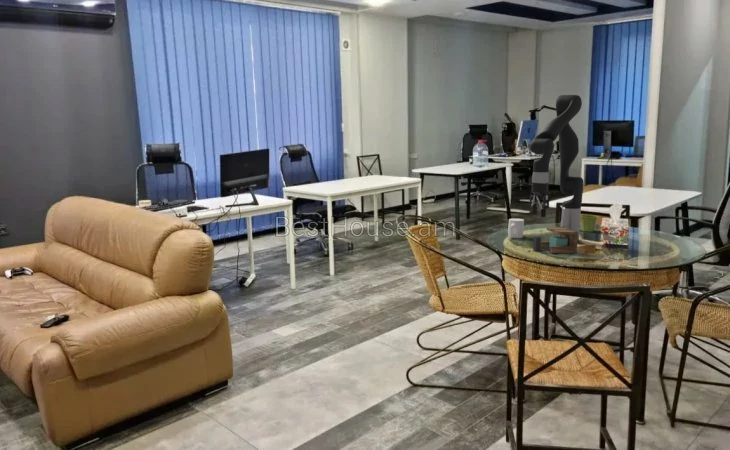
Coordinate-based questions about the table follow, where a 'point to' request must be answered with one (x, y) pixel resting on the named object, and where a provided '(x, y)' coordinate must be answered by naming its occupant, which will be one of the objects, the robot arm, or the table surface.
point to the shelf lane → (565, 233)
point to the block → (553, 242)
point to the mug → (515, 228)
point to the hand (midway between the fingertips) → (538, 215)
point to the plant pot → (588, 222)
